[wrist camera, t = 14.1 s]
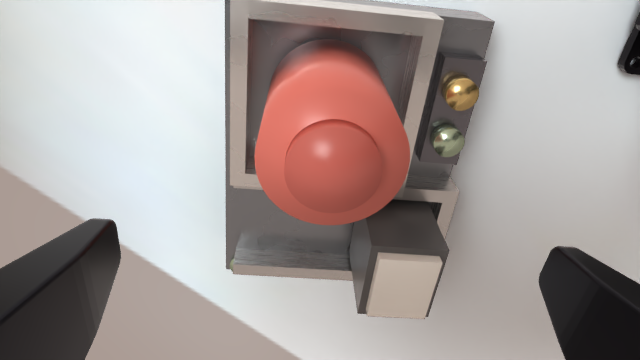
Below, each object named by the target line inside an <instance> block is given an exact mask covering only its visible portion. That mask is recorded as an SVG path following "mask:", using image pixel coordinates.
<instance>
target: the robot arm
mask: <svg viewBox="0 0 640 360" xmlns="http://www.w3.org/2000/svg"><path fill="white" fill-rule="evenodd" d="M635 57H636V61H635V62H634V64H632V65H630V62H631V61H632V59H633V58H635ZM618 65H619V68H620V69H621V70H622V71H624V72H626V73H629V74H636V75H640V13H639V15H638V17H637V20H636V22H635V25H634V27H633V30H632V32H631V34H630V36H629V39H628V41H627V43H626V45H625V48H624V50H623V52H622V54H621V56H620V59H619V62H618ZM120 259H121V251H120V245H119V239H118V233H117V227H116V224H115V222H114V221H113V220H111V219H96V218H93V219H90V220H88V221H86V222H84V223H82V224H80V225H78V226H77V227H75V228H73V229H71V230H70V231H68V232H66V233H64V234H62V235H60V236H59V237H57V238H55V239H53V240H51V241H50V242H48V243H46V244H44V245H42V246H40V247H39V248H37V249H35V250H33V251H31V252H30V253H28V254H26V255H24V256H22V257H21V258H19V259H17V260H15V261H13V262H11V263H9V264H8V265H6V266H4V267H2V268H1V269H0V360H85V357H86V355H87V353H88V351H89V349H90V347H91V345H92V342H93V340H94V338H95V336H96V333H97V330H98V328H99V325H100V322H101V319H102V316H103V313H104V310H105V307H106V304H107V301H108V298H109V295H110V292H111V289H112V285H113V283H114V280H115V276H116V273H117V270H118V267H119V264H120ZM539 286H540V289H541V292H542V295H543V298H544V301H545V304H546V307H547V310H548V313H549V316H550V318H551V321H552V324H553V327H554V330H555V333H556V336H557V339H558V342H559V344H560V347H561V350H562V352H563V354H564V357H565V359H566V360H640V284H638V283H637V282H635V281H633V280H631V279H630V278H628V277H626V276H624V275H623V274H621V273H619V272H618V271H616V270H614V269H612V268H611V267H609V266H607V265H605V264H604V263H602V262H600V261H598V260H597V259H595V258H593V257H591V256H590V255H588V254H586V253H584V252H583V251H581V250H579V249H577V248H575V247H564V246H557V247H554V248H553V249H552V250H551V252H550V254H549V256H548V258H547V260H546V262H545V264H544V267H543V269H542V271H541V273H540V276H539Z"/></svg>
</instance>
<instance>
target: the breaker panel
mask: <svg viewBox="0 0 640 360" xmlns="http://www.w3.org/2000/svg"><path fill="white" fill-rule="evenodd" d="M494 23H495V21H493V20H491V19H489V18H487V17H485V16H483V15H481V14H479V13H478V12H471V11H462V10H453V9H444V8H434V7H425V6H416V5H406V4H397V3H388V2H378V1H369V0H225V126H226V269H231V270H232V271H233V274H241V275H259V276H277V277H295V278H313V279H331V280H349V281H353V276H352V269H351V262H350V255H349V249H350V243H351V237H352V232H353V226H354V222H352V223H348V224H342V225H319V224H313V223H309V222H305V221H302V220H299V219H297V218H295V217H293V216H291V215H289V214H287V213H286V212H284V211H283V210H281V209H280V208H279V207H278V206H276V205H275V204H274V203H273V202H272V201H271V200H270V199H269V197H268V196H267V195H266V193H265V192H264V190H263V188H262V186H261V184H260V183H259V180H258V177H257V174H256V169H255V148H256V143H257V139H258V134H259V130H260V126H261V121H262V117H263V113H264V108H265V104H266V100H267V95H268V91H269V87H270V83H271V79H272V76H273V74H274V71H275V69H276V68H277V66H278V64H279V63H280V62H281V61H282V59H283V58H284V57H285V56H286V55H287V54H288V53H289V52H291V51H292V50H293V49H295V48H297V47H298V46H300V45H302V44H305V43H307V42H310V41H315V40H321V39H334V40H340V41H343V42H347V43H349V44H351V45H354V46H356V47H357V48H359V49H360V50H362V51H363V52H364V53H365V54H366V55H367V56H368V57H369V58H370V59H371V60H372V61H373V63H374V64H375V66H376V67H377V69H378V71H379V74H380V76H381V78H382V80H383V83H384V85H385V87H386V89H387V91H388V94H389V96H390V98H391V100H392V103H393V105H394V107H395V109H396V112H397V114H398V116H399V118H400V120H401V123H402V125H403V127H404V129H405V132H406V134H407V137H408V141H409V146H410V164H409V169H408V173H407V176H406V179H405V181H404V183H403V185H402V187H401V188H400V190H399V191H398V193H397V194H396V195H395V196H394V198H393V199H397V200H411V201H425V202H428V204H429V206H430V208H431V210H432V213H433V215H434V217H435V219H436V222H437V224H438V226H439V228H440V231H441V233H442V235H443V237H444V240H445V237H446V234H447V230H448V227H449V224H450V221H451V217H452V214H453V211H454V208H455V205H456V201H457V198H458V195H459V190H458V189H457V187H456V185H455V184H454V182H453V180H452V178H449V177H450V173H451V170H452V166H453V164H455V165H457V161H458V158H459V155H460V151H461V150H462V148H463V146H464V142H465V141H464V138H465V134H466V131H467V128H468V124H469V121H470V117H471V114H472V111H473V107H474V104H475V103H476V101H477V99H478V96H479V87H480V84H481V80H482V77H483V74H484V70H485V67H486V63H487V61H486V60H485V59H484V57H485V53H486V50H487V47H488V43H489V40H490V36H491V33H492V29H493V26H494Z"/></svg>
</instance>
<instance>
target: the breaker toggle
mask: <svg viewBox="0 0 640 360" xmlns="http://www.w3.org/2000/svg"><path fill="white" fill-rule="evenodd" d="M448 253H449V249H448V246H447V244H446V242H445V240H444V237H443V235H442V233H441V231H440V228H439V226H438V224H437V222H436V219H435V217H434V215H433V213H432V210H431V208H430V206H429V204H428V202H425V201H411V200H397V199H392V200H391V201H390V202H389V203H388V204H387V205H386V206H384V207H383V208H382V209H380V210H379V211H378V212H376V213H374V214H372V215H371V216H369V217H366V218H364V219H362V220H359V221H356V222H354V226H353V232H352V237H351V243H350V249H349V255H350V262H351V269H352V276H353V284H354V291H355V298H356V305H357V313H359V314H367V316H374V317H394V318H415V319H425V317H428V315H429V312H430V309H431V306H432V302H433V299H434V296H435V293H436V290H437V287H438V284H439V281H440V278H441V275H442V271H443V268H444V265H445V262H446V259H447V256H448Z"/></svg>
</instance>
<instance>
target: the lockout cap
mask: <svg viewBox="0 0 640 360" xmlns="http://www.w3.org/2000/svg"><path fill="white" fill-rule="evenodd" d="M409 164H410V146H409V141H408V137H407V134H406V132H405V129H404V127H403V125H402V123H401V120H400V118H399V116H398V114H397V112H396V109H395V107H394V105H393V103H392V100H391V98H390V96H389V94H388V91H387V89H386V87H385V85H384V83H383V80H382V78H381V76H380V74H379V71H378V69H377V67H376V66H375V64H374V63H373V61H372V60H371V59H370V58H369V57H368V56H367V55H366V54H365V53H364V52H363V51H362V50H360V49H359V48H357V47H356V46H354V45H351V44H349V43H347V42H343V41H340V40H334V39H321V40H315V41H310V42H307V43H305V44H302V45H300V46H298V47H297V48H295V49H293V50H292V51H291V52H289V53H288V54H287V55H286V56H285V57H284V58H283V59H282V61H281V62H280V63H279V64H278V66H277V68H276V69H275V71H274V74H273V76H272V79H271V83H270V87H269V91H268V95H267V100H266V104H265V108H264V113H263V117H262V121H261V126H260V130H259V134H258V139H257V143H256V148H255V169H256V174H257V177H258V180H259V183H260V184H261V186H262V188H263V190H264V192H265V193H266V195H267V196H268V197H269V199H270V200H271V201H272V202H273V203H274V204H275V205H276V206H278V207H279V208H280V209H281V210H283V211H284V212H286V213H287V214H289V215H291V216H293V217H295V218H297V219H299V220H302V221H305V222H309V223H313V224H319V225H342V224H348V223H352V222H356V221H359V220H362V219H364V218H366V217H369V216H371V215H372V214H374V213H376V212H378V211H379V210H380V209H382V208H383V207H384V206H386V205H387V204H388V203H389V202H390V201H391V200H392V199H393V198H394V196H395V195H396V194H397V193H398V191H399V190H400V188H401V187H402V185H403V183H404V181H405V179H406V176H407V173H408V169H409Z"/></svg>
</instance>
